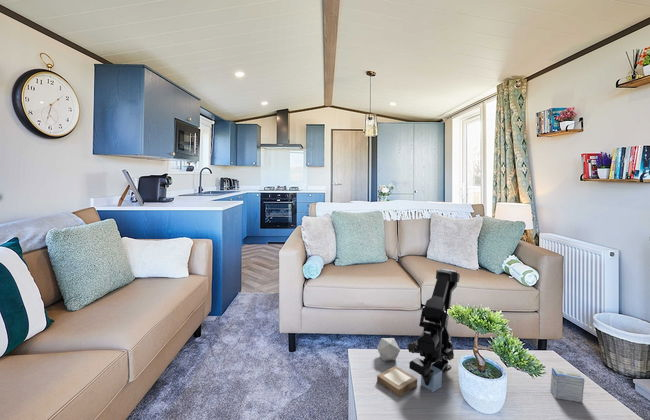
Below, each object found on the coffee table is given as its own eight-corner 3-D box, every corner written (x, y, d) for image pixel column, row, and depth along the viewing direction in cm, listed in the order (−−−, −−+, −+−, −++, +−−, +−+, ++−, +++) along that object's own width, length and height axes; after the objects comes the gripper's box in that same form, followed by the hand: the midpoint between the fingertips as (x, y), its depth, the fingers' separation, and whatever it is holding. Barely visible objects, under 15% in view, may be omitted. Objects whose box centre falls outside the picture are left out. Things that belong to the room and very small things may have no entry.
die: (394, 369, 123) (406, 345, 126) (374, 356, 125) (386, 333, 127) (389, 364, 132) (401, 342, 134) (371, 352, 133) (382, 331, 135)
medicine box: (576, 395, 108) (578, 371, 107) (582, 403, 104) (585, 378, 103) (549, 390, 110) (551, 367, 110) (555, 398, 106) (556, 374, 105)
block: (429, 379, 116) (429, 364, 115) (441, 386, 112) (442, 370, 111) (420, 384, 113) (421, 368, 112) (433, 392, 109) (433, 375, 108)
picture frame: (395, 372, 120) (395, 365, 120) (417, 385, 112) (417, 378, 112) (377, 381, 114) (377, 375, 114) (398, 396, 106) (399, 389, 106)
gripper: (428, 324, 123) (427, 362, 124) (397, 338, 112) (396, 380, 113) (455, 336, 114) (453, 376, 116) (424, 352, 103) (422, 397, 104)
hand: (431, 382), depth 112 cm, fingers closed on block, 5 cm apart
